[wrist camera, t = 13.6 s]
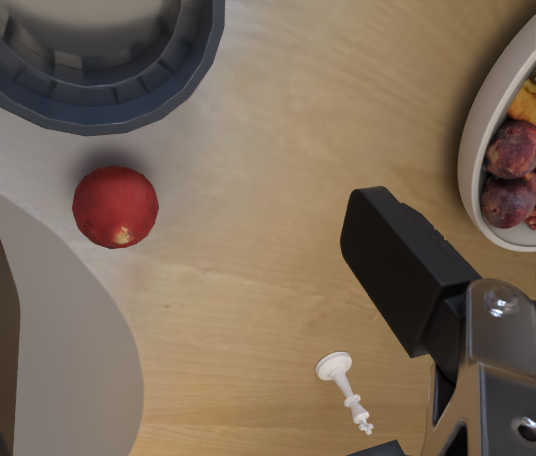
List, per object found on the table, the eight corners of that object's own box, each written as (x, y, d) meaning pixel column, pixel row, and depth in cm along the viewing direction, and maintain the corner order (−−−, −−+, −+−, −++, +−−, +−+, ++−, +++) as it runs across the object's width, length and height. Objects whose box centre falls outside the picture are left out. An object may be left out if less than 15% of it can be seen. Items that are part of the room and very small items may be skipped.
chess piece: (325, 350, 61) (362, 421, 54) (356, 351, 64) (396, 418, 56) (309, 376, 64) (342, 447, 56) (339, 376, 66) (375, 444, 58)
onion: (125, 221, 40) (137, 287, 34) (57, 193, 37) (57, 261, 31) (163, 167, 39) (183, 226, 33) (95, 133, 35) (103, 192, 29)
